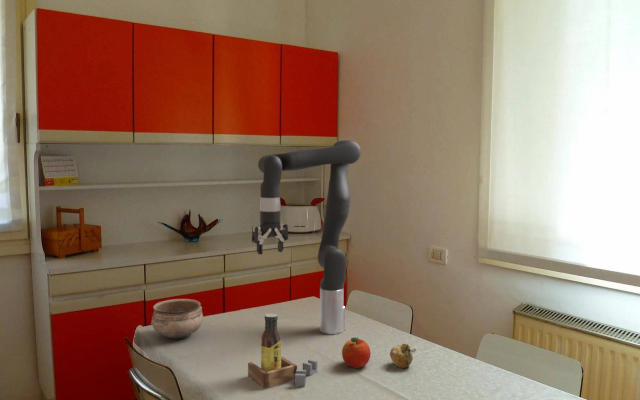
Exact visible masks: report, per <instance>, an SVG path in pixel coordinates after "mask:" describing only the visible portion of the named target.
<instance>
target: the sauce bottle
mask: <svg viewBox="0 0 640 400" xmlns="http://www.w3.org/2000/svg"><path fill="white" fill-rule="evenodd" d="M278 319H279V318H278V314H276V313H266V314H265V315H264V324H265V325H264V331H263V332H262V335H261V345H260V368H261V369H263V370H264V371H266V372H269V371H272V370H276V369H280V368H281V356H282V339H281V336H280V332H279V331H278Z"/></svg>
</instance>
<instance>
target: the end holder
mask: <svg viewBox="0 0 640 400" xmlns="http://www.w3.org/2000/svg"><path fill="white" fill-rule="evenodd" d="M296 370H298V365H297V364H296V363H294V362H292V361H290V360H288V359H287V358H285V357H283V356H282V355H281V368H280V369H276V370H272V371H269V372H266V371H264V370H263V369H261V366H258V365H257V364H255V363H254V362H252V361H250V362H247V376H248V378H250V379H251V380H252V381H254V382H255V383H256V384H257V385H259V386H261V387H262V388H263V389H265V390H266V389H270V388H273V387H276V386H281V385H283V384H286V383H290V382H293V381H294V382H295V374H296Z"/></svg>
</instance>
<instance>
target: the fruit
mask: <svg viewBox="0 0 640 400" xmlns="http://www.w3.org/2000/svg"><path fill="white" fill-rule="evenodd" d="M371 354H372V353H371V349H370V346H369V344H368V343H367V342H366V341H365V340H363V339H362V338H361V339H360V338H359V337H358V336H357V337H351V338H350V340H347V341H346V342H345V343H344V345H343V347H342V349H341V355H342V356H341V357H342V359H343V362H344V364H346V365H347V366H349V367H350V368H354V369H355V368H357V369H358V368H359V369H360V368H363V367H365V366H366V365H367V364H368V363H369V361H370V359H371V356H372V355H371Z"/></svg>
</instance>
